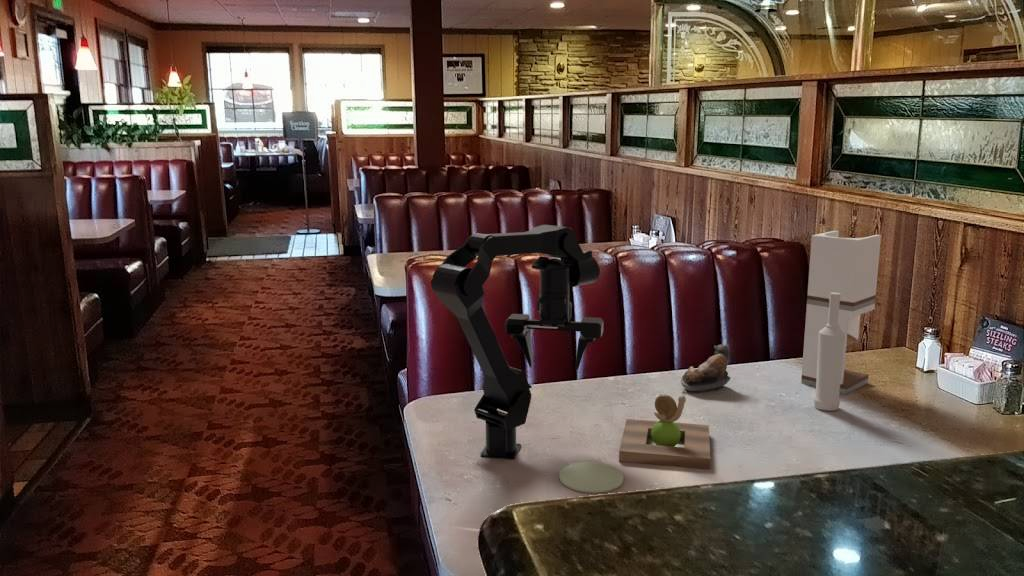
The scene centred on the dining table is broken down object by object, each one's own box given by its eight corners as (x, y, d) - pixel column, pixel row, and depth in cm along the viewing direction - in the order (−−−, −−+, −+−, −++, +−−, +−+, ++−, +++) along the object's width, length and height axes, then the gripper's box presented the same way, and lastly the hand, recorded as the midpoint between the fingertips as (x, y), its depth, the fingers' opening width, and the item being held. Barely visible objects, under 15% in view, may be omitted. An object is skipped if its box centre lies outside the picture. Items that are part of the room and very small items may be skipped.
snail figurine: (677, 457, 143) (679, 395, 141) (645, 448, 147) (647, 388, 145) (689, 447, 147) (692, 387, 145) (658, 439, 151) (660, 380, 149)
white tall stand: (845, 394, 176) (858, 240, 168) (801, 383, 183) (811, 235, 176) (867, 383, 183) (881, 234, 176) (824, 372, 191) (835, 230, 184)
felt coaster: (620, 495, 128) (620, 492, 128) (554, 489, 131) (554, 486, 131) (626, 467, 139) (626, 464, 139) (564, 462, 141) (564, 459, 141)
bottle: (835, 403, 170) (844, 290, 165) (842, 411, 165) (852, 296, 160) (810, 402, 171) (818, 290, 166) (817, 410, 166) (825, 295, 160)
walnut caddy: (709, 469, 138) (710, 458, 138) (618, 461, 142) (619, 450, 141) (708, 434, 153) (708, 425, 153) (626, 428, 157) (626, 418, 156)
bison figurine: (691, 397, 175) (693, 353, 173) (673, 387, 181) (675, 345, 179) (735, 390, 179) (737, 347, 177) (716, 381, 186) (718, 340, 183)
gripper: (606, 284, 156) (605, 359, 160) (515, 280, 160) (515, 354, 163) (601, 295, 146) (599, 375, 149) (503, 291, 150) (504, 369, 153)
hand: (553, 368), depth 154 cm, fingers open, 9 cm apart
